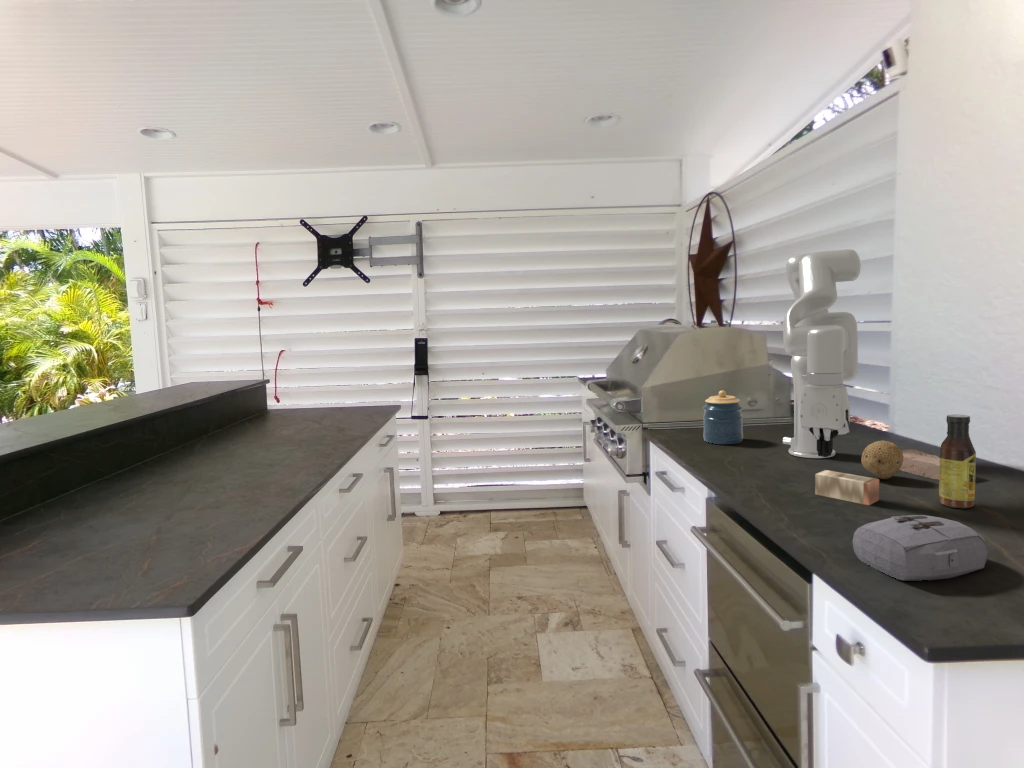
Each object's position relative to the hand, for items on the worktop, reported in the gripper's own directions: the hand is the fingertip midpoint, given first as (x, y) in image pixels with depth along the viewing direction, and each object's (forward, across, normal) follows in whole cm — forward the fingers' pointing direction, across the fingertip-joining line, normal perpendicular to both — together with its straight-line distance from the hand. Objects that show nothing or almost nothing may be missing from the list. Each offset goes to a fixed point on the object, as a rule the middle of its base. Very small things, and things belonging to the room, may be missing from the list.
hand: (824, 455), depth 140 cm
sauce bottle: (+9, +23, +10) cm, 27 cm away
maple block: (+7, -1, 0) cm, 7 cm away
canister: (+9, -51, +33) cm, 61 cm away
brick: (+10, +10, +34) cm, 37 cm away
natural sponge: (+9, +4, +20) cm, 23 cm away
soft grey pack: (+10, +30, -27) cm, 42 cm away
